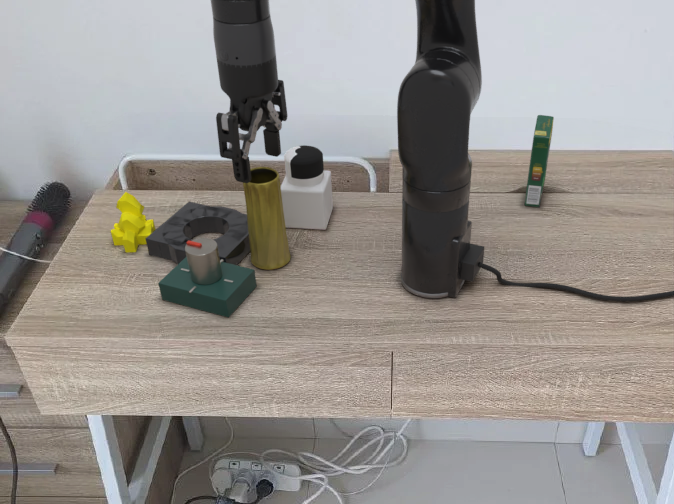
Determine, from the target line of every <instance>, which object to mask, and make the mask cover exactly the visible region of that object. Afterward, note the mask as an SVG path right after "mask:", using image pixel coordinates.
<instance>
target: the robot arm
mask: <svg viewBox="0 0 674 504" xmlns="http://www.w3.org/2000/svg"><path fill="white" fill-rule="evenodd" d="M210 5H211V13H212V21H213V22H212V23H213V24H212V25H213V26H212V27H213V28H212V33H213V42H214V49H215V57H216V64H217V71H218V79H219V85H220V89H221V91H222V92H223V93H224V94H225V95H226V96H227V97H228V98H229V111H228V112H226V113H224V112H217V114H216V117H215V121H216V130H217V139H218V149H219V156H220V158H224V159H227V160H231V162H232V163H231V164H232V170H233V177H234V179H235V180H236V182H239V183H242V184H243V183H249V182H250V181H251V179H252V178H251V170H250V169H251V163H250V157H249V154H250V150H251V145H252V144H253V143H255V141H256V138H257V133H258V132H259V130H260V129H261V128H262V127H263V128H264V129H263V130H262V132H263V133H262V134H263V142H264V150H265V151H264V152H265V154H266V155H267V156H271V157H279V156H280V155H281V154H282V146H281V136H280V131H281V130H282V127H283V122H287V120H288V107H287V99H286V91H285V83H284V80H282V79H279V75H278V73H279V72H278V62H277V52H276V42H275V41H276V39H275V33H274V32H275V31H274V27H273V24H272V23H273V22H272V16H271V9H270V8H271V7H270V0H210ZM415 10H416V53H415V60H414V64H413V66H412V67H411V68H410V70H409V71H408V72H407V73H406V75H405V76H404V78H403V79H402V81H401V83H400V86H399V89H398V94H397V101H396V103H397V104H396V108H397V109H396V122H397V123H396V125H397V126H396V127H397V129H396V130H397V153H398V154H397V155H398V159H399V162H400V164H401V167H402V179H401V181H402V183H401V184H402V185H401V187H402V189H401V191H402V193H401V195H402V197H401V198H402V199H401V269H400V270H401V273H400V283H401V285H402V286H403V288H404V289H405V290H406V291H408V292H409V293H410V294H412V295H415V296H417V297H421V298H424V299H425V298H426V299H442V298H447V297H449V298H454V299H455V298H456V297H457V296H458V294H459V292H460V291H461V289H462V288H463V286H464V285H465V282H466V281H468V282H471V283H473V282H474V280H475V279H476V277H477V275H478V274H479V271H480V269H483V270H486V271H487V272H490V273H492V274H494V275H495V276H496V280H497V282H498V283H499V284H501V285H504V286H511V287H525V288H537V289H540V288H541V289H542V288H543V289H554V290H561V291H566V292H570V293H574V294H577V295H581V296H584V297H588V298H592V299H595V300H596V299H597V300H600V301H601V300H602V301H608V302H622V303H623V302H626V303H627V302H640V301H641V302H642V301H649V300H655V299H662V298H668V297H674V290H670V291H665V292H664V291H663V292H658V293H651V294H644V295H634V296H633V295H631V296H620V295H619V296H617V295H606V294H602V293H601V294H600V293H599V294H598V293H595V292H591V291H588V290H585V289H580V288H577V287H573V286H569V285H565V284H560V283H552V282H513V281H509V280H507V279H504V278H502V273H501V272H500V271H499V270H498V269H496V268H495V267H493V266H491V265H488V264H485V263H484V259H485V258H484V257H485V256H484V255H485V246H484V245H479V244H474V243H471V241H472V228H473V227H472V226H473V222H472V221H471V220H469V210H470V209H469V208H470V197H471V196H470V195H471V182H472V169H473V160H472V157H471V154H470V153H469V143H470V142H469V140H470V126H471V125H470V123H471V115H472V113H473V111H474V109H475V107H476V105H477V103H478V102H479V99H480V96H481V92H482V86H483V75H482V64H481V56H480V48H479V47H480V46H479V38H478V37H479V36H478V27H477V17H476V15H477V14H476V0H415ZM275 106H278V109H279V110H276V108H275ZM239 129H240V130H241V131H243V132H247V133H240V130H239ZM241 141H242V145H241ZM228 143H229V144H228Z"/></svg>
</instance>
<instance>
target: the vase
mask: <svg viewBox="0 0 674 504" xmlns="http://www.w3.org/2000/svg"><path fill="white" fill-rule="evenodd" d="M250 170H251V178H252V179H251V181H250V182H249V183H243V182H242V186H243V192H244V200H245V207H246V208H245V209H246V214H247V220H248V232H249V243H250V252H249V253H250V257H249V258H250V262H251V264H252V265H253V266H254V267H256V268H257V269H260V270H265V271H266V270H267V271H268V270H269V271H272V270H278V269H280V268H283V267H285V266H286V265H288V263H289V262H290V261H291V257H292V255H291V253H290V248H289V247H290V246H289V240H288V235H287V228H286V227H285V219H284V212H283V204H282V196H281V178H280V173H279V172H278V170H276V169H275V168H272V167H269V166H256V167H252V168H250Z"/></svg>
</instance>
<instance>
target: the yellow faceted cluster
mask: <svg viewBox="0 0 674 504" xmlns="http://www.w3.org/2000/svg"><path fill="white" fill-rule="evenodd" d="M115 207H116V209H117V210H119V211H120V213H121V214H120V217H119V220H118V222H115V223H114V225H113V228H111V230H110V235H111V239H112V242H113V245H114V246H115V247H116V246H123V248H124V252H125V253H127V254H128V253H137V250H138V248H139V246H140V245H141V246H142V245H147V243H146V239H145V238H147V237H148V236H149V235H150V234H151V233H152V232H154V231H155V230H156V229H157V228H156V225H155V221H154V219H147V216H146V215H145V214H144V213H143V212H144V209H145V206H144V205H143V204H142V203H140V201H139V200H138V199H137V198H136V197H135V195H133V194H132V193H129V192H127V191H125V192H124V193H123V194H122V195H121V197H120V198H119V199H118V200H117V201H116V206H115Z"/></svg>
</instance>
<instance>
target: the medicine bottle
mask: <svg viewBox="0 0 674 504" xmlns="http://www.w3.org/2000/svg"><path fill="white" fill-rule="evenodd" d="M283 159H284V169H285V175H284V178H283V180H282V182H281V184H280V187H281V196H282V204H283V212H284V219H285V227H286V229H303V230H305V229H306V230H321V231H322V230H323V231H325V230H327V228H328V225H329V221H330V218H331V216H332V212H333V210H334V202H333V201H334V200H333V183H332V171H331V170H326V169H325V167H324V166H325V165H324V153H323V152H322V151H321V149H320V148H318V147H316V146H312V145H305V144H304V145H297V146H292V147H291V148H289V149H287V150H286V152H285V153H284V154H283Z"/></svg>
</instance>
